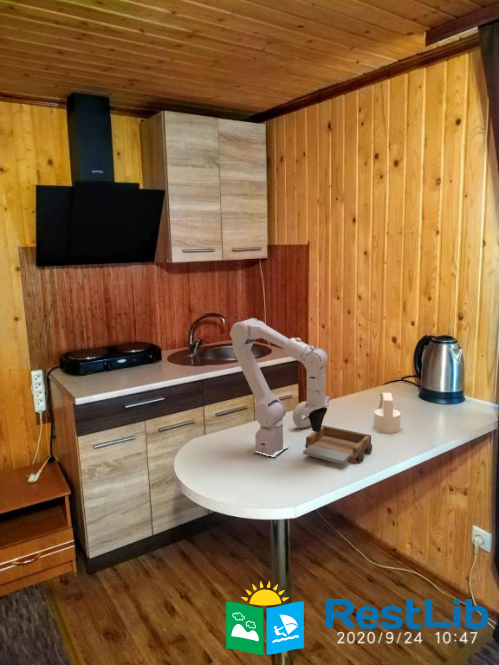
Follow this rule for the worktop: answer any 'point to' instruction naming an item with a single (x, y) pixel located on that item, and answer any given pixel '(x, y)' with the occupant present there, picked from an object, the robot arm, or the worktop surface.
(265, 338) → the robot arm
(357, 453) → the box
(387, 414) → the cylinder with rectangular tab
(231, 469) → the worktop surface
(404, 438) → the worktop surface
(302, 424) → the donut
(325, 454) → the tailgate
